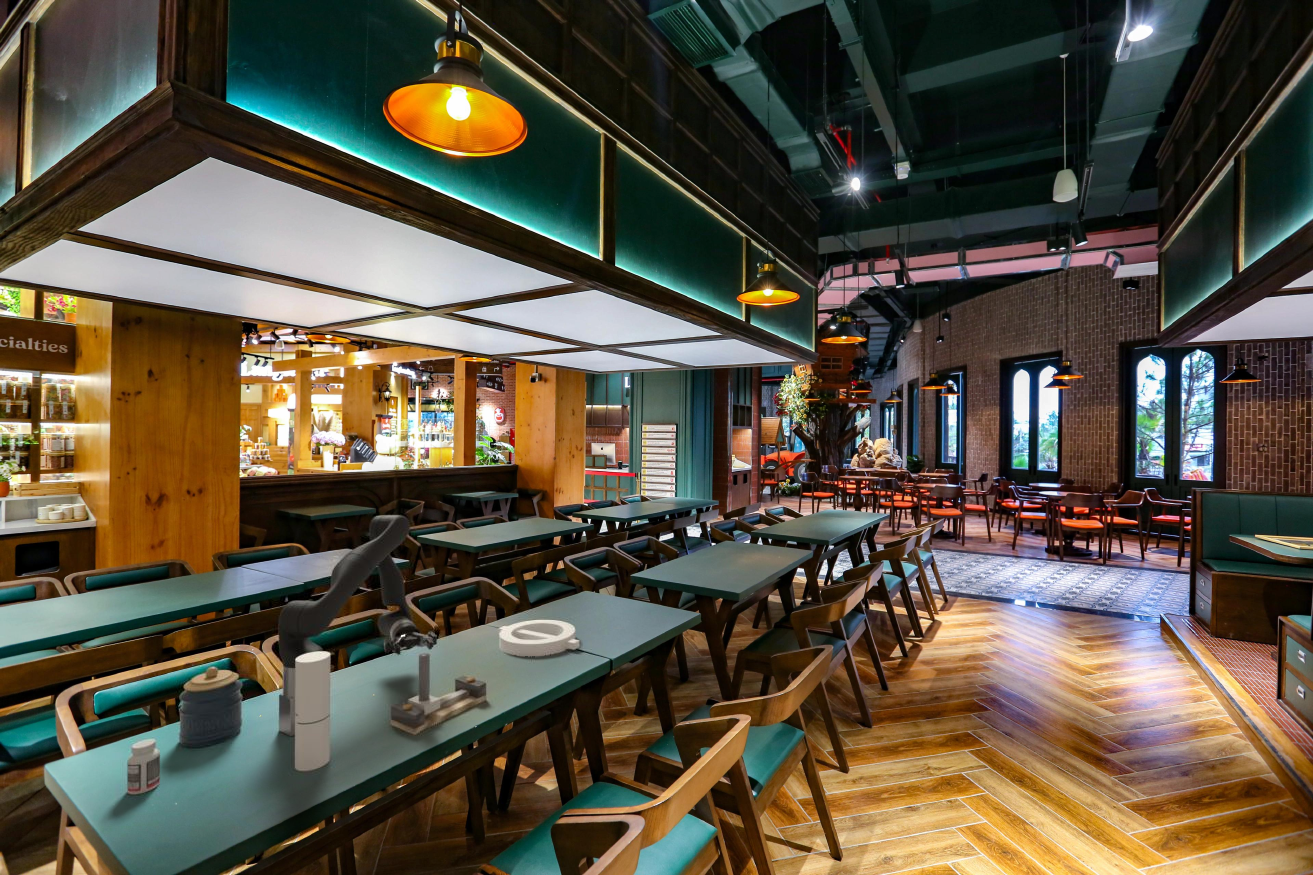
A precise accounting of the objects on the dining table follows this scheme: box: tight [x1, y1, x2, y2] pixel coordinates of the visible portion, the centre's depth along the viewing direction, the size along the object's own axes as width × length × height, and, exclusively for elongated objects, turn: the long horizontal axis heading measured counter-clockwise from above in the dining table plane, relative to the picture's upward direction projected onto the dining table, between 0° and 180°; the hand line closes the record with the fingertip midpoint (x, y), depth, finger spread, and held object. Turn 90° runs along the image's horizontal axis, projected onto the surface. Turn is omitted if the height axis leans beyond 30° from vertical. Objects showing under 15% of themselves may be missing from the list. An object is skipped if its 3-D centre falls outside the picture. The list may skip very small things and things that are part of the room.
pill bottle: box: [126, 738, 161, 795], centre depth 128 cm, size 5×5×10 cm
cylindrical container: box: [294, 650, 331, 772], centre depth 138 cm, size 7×7×25 cm
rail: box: [390, 675, 487, 735], centre depth 164 cm, size 24×10×6 cm, turn 148°
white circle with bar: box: [498, 619, 580, 658], centre depth 220 cm, size 28×28×5 cm
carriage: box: [407, 652, 440, 715], centre depth 159 cm, size 5×7×14 cm
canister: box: [178, 666, 243, 749], centre depth 150 cm, size 13×13×18 cm
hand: (415, 648), depth 168 cm, fingers open, 8 cm apart
